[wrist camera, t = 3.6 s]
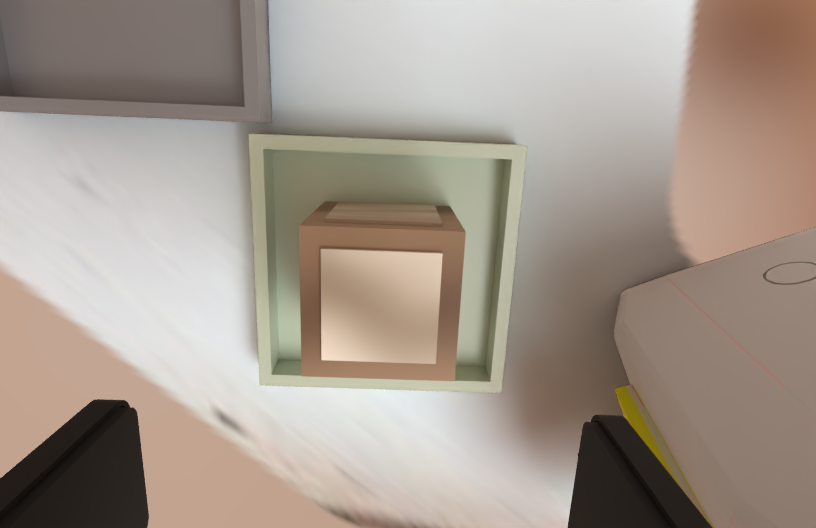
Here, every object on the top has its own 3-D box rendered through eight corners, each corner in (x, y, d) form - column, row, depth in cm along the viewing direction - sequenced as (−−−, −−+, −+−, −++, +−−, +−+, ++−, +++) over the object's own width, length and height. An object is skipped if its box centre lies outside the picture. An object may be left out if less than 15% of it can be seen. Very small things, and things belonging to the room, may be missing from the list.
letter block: (324, 198, 23) (297, 221, 17) (450, 203, 23) (466, 228, 17) (325, 318, 25) (301, 378, 19) (442, 322, 25) (454, 383, 19)
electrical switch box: (507, 311, 27) (581, 770, 9) (797, 216, 24) (1977, 647, 5) (585, 506, 31) (755, 1126, 12) (846, 449, 28) (1641, 1198, 9)
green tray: (261, 133, 23) (248, 133, 21) (516, 144, 23) (527, 145, 21) (270, 366, 26) (259, 385, 24) (494, 373, 26) (501, 393, 24)
